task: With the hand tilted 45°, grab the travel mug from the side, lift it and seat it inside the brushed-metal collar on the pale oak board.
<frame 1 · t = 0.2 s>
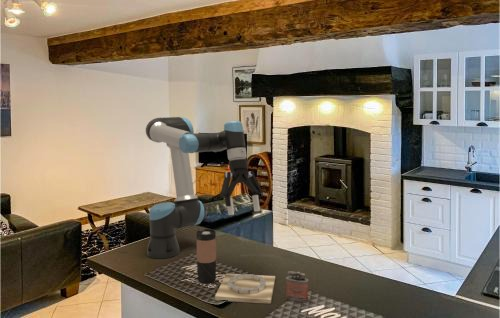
hand: (244, 213, 157), 27 cm above the counter, tool tilted 15°, fingers open, 13 cm apart
lighter: (297, 299, 144), on the counter
dock board: (246, 289, 152), on the counter
dock collar: (246, 283, 152), on the dock board, point 2 cm above the counter
travel mug: (206, 280, 160), on the counter
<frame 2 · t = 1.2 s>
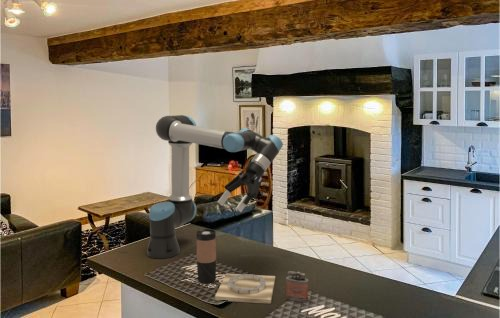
hand: (228, 207, 163), 28 cm above the counter, tool tilted 45°, fingers open, 13 cm apart
nothing on the counter moved.
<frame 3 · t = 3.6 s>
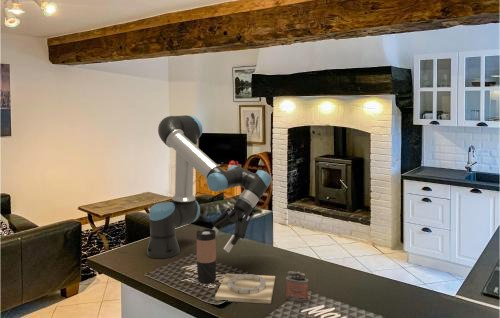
hand: (216, 246, 160), 14 cm above the counter, tool tilted 45°, fingers open, 13 cm apart
nothing on the counter moved.
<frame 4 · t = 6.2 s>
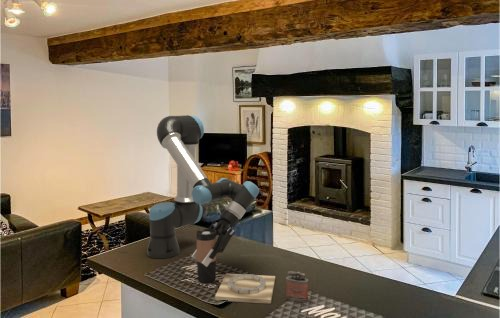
hand: (198, 261, 157), 9 cm above the counter, tool tilted 45°, fingers closed on travel mug, 7 cm apart
travel mug: (206, 280, 160), on the counter, touching gripper
everything else where it was.
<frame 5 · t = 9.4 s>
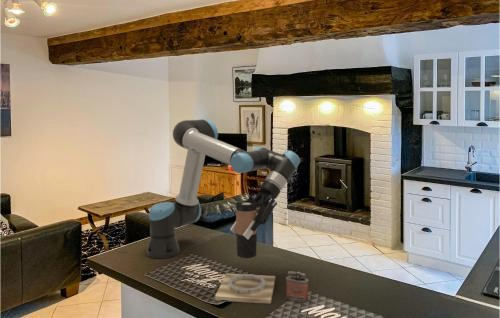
hand: (239, 234, 147), 22 cm above the counter, tool tilted 45°, fingers closed on travel mug, 7 cm apart
travel mug: (246, 255, 150), point 13 cm above the counter, touching gripper
everything else where it was.
when the fingers open (11 cm above the counter, at t = 12.6 s): travel mug drops 1 cm, resting on dock board.
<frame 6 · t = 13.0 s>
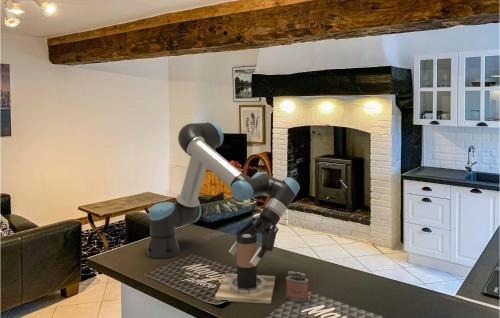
hand: (241, 258, 149), 13 cm above the counter, tool tilted 45°, fingers open, 13 cm apart
travel mug: (246, 286, 152), point 1 cm above the counter, touching dock board
everything else where it was.
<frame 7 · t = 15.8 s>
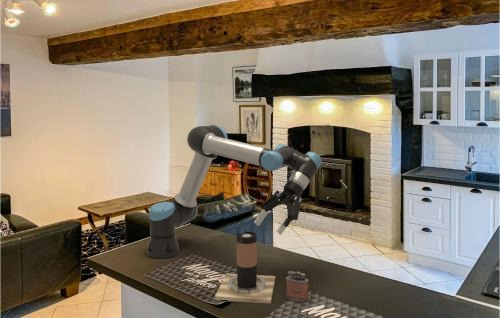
hand: (267, 228, 155), 22 cm above the counter, tool tilted 45°, fingers open, 13 cm apart
nothing on the counter moved.
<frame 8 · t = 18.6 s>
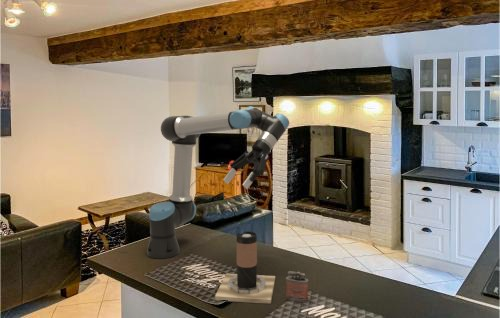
hand: (234, 184, 161), 38 cm above the counter, tool tilted 45°, fingers open, 13 cm apart
nothing on the counter moved.
at the end: travel mug 0.0 cm off-centre on the dock board, point 1.3 cm above the dock board's base; travel mug tilted 0°; the gripper is holding nothing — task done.
